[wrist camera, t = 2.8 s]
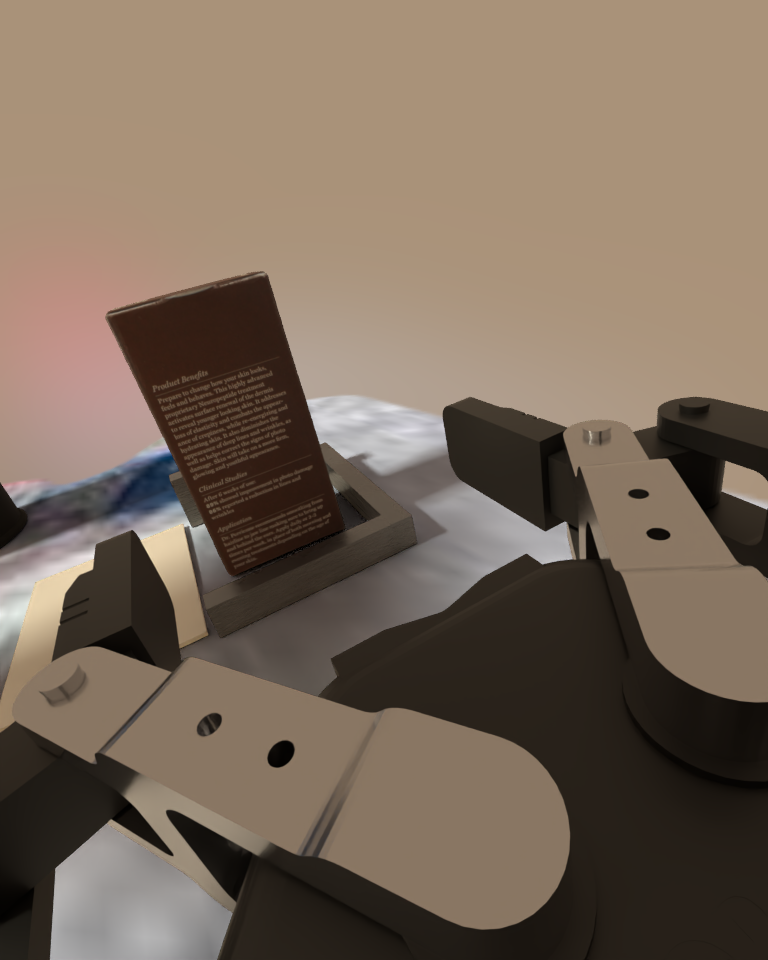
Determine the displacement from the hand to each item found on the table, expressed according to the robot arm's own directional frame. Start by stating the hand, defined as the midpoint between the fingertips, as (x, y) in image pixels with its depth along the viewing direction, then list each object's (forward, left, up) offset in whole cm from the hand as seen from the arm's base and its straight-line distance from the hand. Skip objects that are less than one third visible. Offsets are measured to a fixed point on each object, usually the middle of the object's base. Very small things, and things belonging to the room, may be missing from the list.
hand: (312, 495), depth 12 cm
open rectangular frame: (0, +11, -7) cm, 13 cm away
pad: (-8, +11, -7) cm, 16 cm away
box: (0, +11, -7) cm, 14 cm away
